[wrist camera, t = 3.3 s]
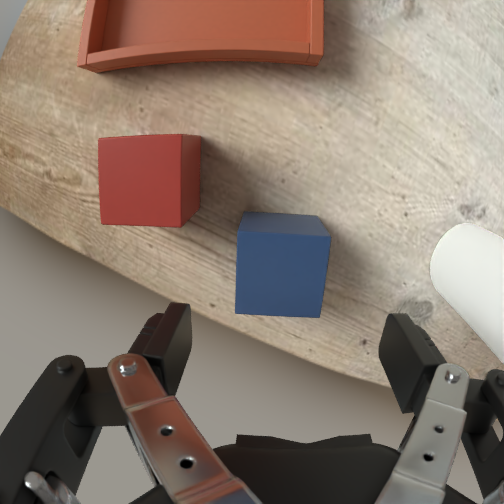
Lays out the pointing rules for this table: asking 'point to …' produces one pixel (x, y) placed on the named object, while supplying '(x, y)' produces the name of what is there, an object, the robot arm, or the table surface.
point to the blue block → (281, 264)
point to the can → (473, 280)
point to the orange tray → (200, 32)
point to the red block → (149, 179)
